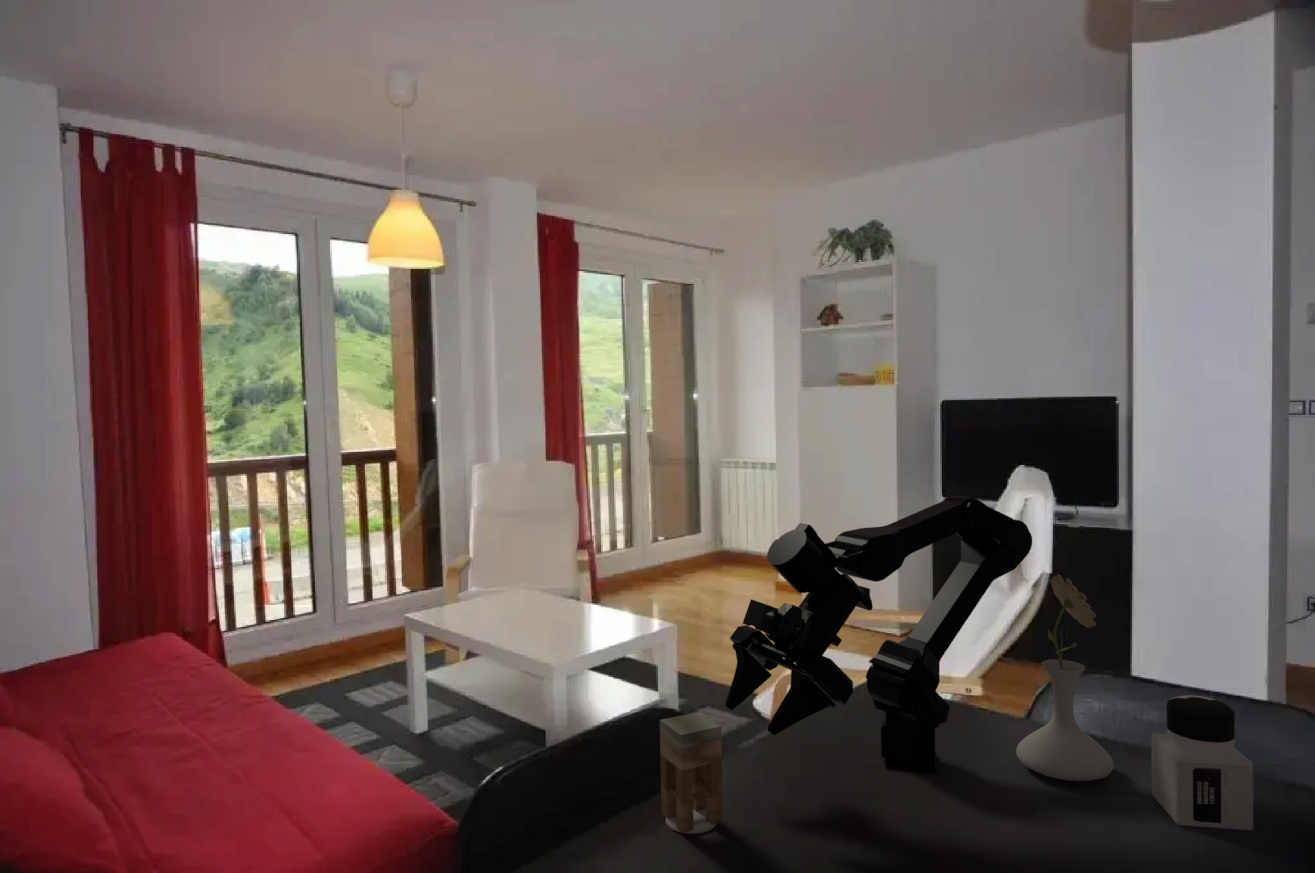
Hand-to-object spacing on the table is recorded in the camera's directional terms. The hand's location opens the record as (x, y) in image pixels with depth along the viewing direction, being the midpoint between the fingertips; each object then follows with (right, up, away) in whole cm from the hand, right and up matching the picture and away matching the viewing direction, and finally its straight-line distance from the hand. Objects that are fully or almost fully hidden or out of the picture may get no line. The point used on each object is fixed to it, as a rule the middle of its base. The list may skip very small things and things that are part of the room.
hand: (748, 719), depth 99 cm
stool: (-7, -10, -3) cm, 13 cm away
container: (+52, -10, -3) cm, 53 cm away
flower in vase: (+42, -10, +9) cm, 44 cm away
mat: (-7, -11, -3) cm, 13 cm away
